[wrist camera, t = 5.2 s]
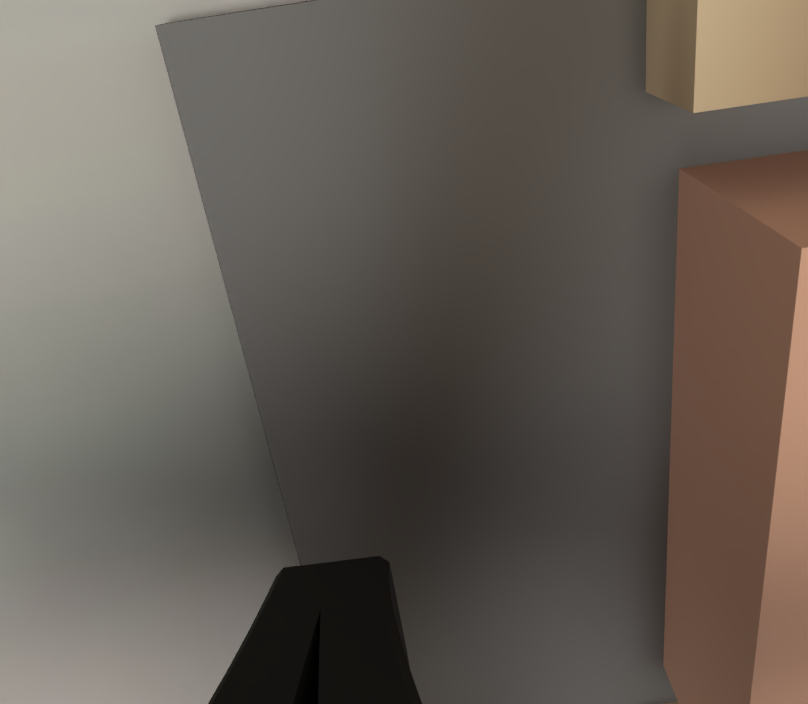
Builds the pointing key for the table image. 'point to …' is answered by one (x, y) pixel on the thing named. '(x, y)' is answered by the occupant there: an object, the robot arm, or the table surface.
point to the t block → (739, 436)
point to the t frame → (479, 297)
